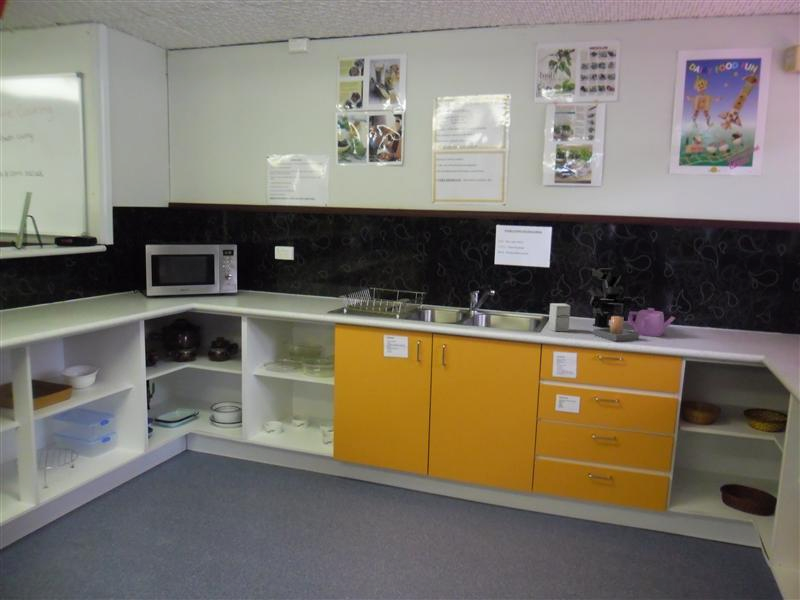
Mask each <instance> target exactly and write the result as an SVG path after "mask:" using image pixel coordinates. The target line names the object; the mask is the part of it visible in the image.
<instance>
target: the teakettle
mask: <svg viewBox="0 0 800 600" xmlns="http://www.w3.org/2000/svg"><path fill="white" fill-rule="evenodd" d="M634 315H635V320H634ZM675 319H676V317H674V316H670V317H669V319H667V320H666V321H665V316H664V312H663V311H658V310H655V308H652V307H648V308H646V309H641V310H639V311H632V310H631V311H629V313H628V317H627V324H629V325H630V326H632V327H633V332H637V333H639V336H646V337H652V338H655V337H656V338H660V337H661V336H663V334H664V331H665V330H666V329H667V328H668V327H669V326H670V324H671V323H672V322H673V321H674V320H675Z"/></svg>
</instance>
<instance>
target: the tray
mask: <svg viewBox="0 0 800 600" xmlns="http://www.w3.org/2000/svg"><path fill="white" fill-rule="evenodd" d="M593 335H595V336H594V337H597V336H598V337H597V338H600V337H601V339H604V338H605V339H604V340H607V339H608V340H607V341H611V340H612V341H611V342H615V341H616V342H615V343H618V342H617V341H620V342H627V341H628V342H629V341H638V340H639V339H640V335H639V333H637V332H634V330H633V331H632V330H629V329H625V328H623V333H622V334H619V335H616V334H612V333H610V327H602V328H594V329H593Z"/></svg>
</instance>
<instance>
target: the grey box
mask: <svg viewBox="0 0 800 600" xmlns="http://www.w3.org/2000/svg"><path fill="white" fill-rule="evenodd" d="M548 315H549V316H548V317H549V319H548V329H549V330H551V331H553V332H569V329H570V316H571V305H569V304H567V303H553V302H552V303H549V314H548Z"/></svg>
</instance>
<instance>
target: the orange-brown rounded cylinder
mask: <svg viewBox="0 0 800 600" xmlns="http://www.w3.org/2000/svg"><path fill="white" fill-rule="evenodd" d="M610 316H611V317H610V323H609V325H610V327H609V328H610V333H612V334H616V335H619V334H622V333H623V329H624V318H625V317H622V315H621V316H619V315H610Z"/></svg>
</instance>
